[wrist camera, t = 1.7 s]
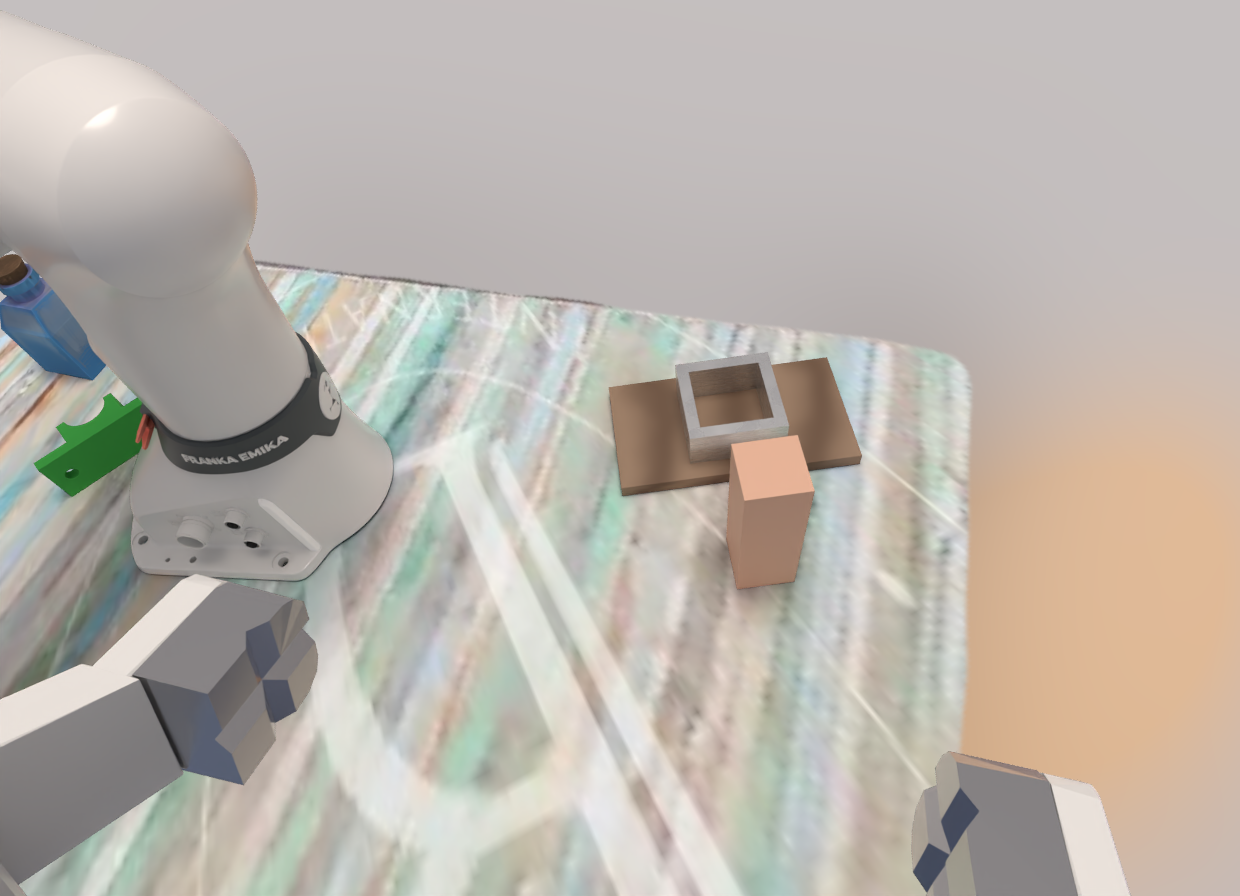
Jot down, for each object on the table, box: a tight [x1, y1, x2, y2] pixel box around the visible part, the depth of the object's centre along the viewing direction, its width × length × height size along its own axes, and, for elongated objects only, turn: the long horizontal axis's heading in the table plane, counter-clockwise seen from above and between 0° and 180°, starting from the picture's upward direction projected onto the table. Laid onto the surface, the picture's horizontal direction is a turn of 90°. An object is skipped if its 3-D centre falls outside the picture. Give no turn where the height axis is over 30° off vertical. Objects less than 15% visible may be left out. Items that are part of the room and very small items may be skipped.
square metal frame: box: [675, 352, 789, 464], centre depth 64 cm, size 8×8×4 cm
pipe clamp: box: [34, 393, 143, 497], centre depth 70 cm, size 11×4×5 cm, turn 135°
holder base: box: [609, 357, 862, 496], centre depth 66 cm, size 20×11×1 cm, turn 96°
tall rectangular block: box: [726, 435, 815, 589], centre depth 54 cm, size 4×4×13 cm
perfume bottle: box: [0, 254, 106, 380], centre depth 75 cm, size 6×6×12 cm
